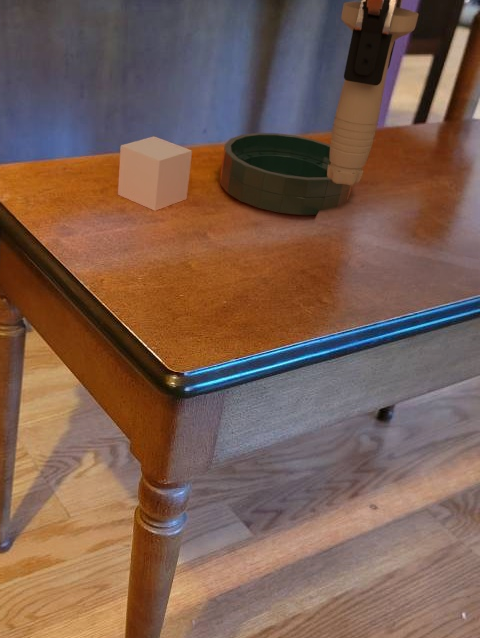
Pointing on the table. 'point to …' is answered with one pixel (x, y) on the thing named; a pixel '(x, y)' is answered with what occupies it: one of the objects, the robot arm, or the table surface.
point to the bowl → (281, 173)
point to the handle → (360, 107)
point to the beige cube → (154, 172)
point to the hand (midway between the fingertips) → (366, 72)
